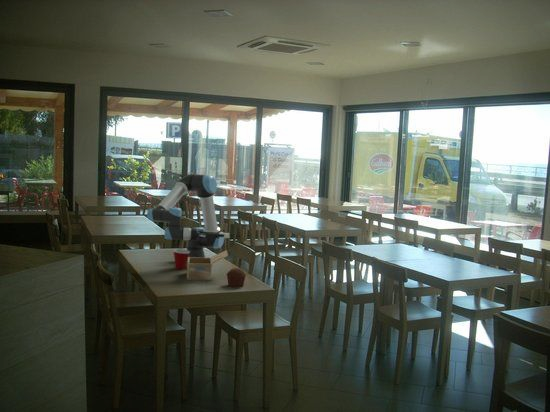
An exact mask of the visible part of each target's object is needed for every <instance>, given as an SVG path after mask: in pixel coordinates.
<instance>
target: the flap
mask: <svg viewBox="0 0 550 412" xmlns="http://www.w3.org/2000/svg"><path fill="white" fill-rule="evenodd" d="M228 256H229V254H228V250H224V251H222V252H219V253H218V254H215V255H213V256H211V257H210V258H211V261H212V265H213V264H214V263H216V262H219V261H220V260H223V259H225V258H227V257H228Z"/></svg>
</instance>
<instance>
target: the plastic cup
mask: <svg viewBox="0 0 550 412" xmlns="http://www.w3.org/2000/svg"><path fill="white" fill-rule="evenodd" d="M189 253H190V251H188V250H187V249H182V248H175V249H173V256H174V264H175V269H176V270H184V269H185V268H186V265H187V258H188V254H189Z"/></svg>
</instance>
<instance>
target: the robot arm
mask: <svg viewBox="0 0 550 412" xmlns="http://www.w3.org/2000/svg"><path fill="white" fill-rule="evenodd" d="M217 187H218V183H217V179H216V178H215V177H214V176H212V175H208V174H195V173H190V174H187V175H185V176H183V177H181V178H180V179H178V180H177V181H176V183H175V184H174V187H173V188H172V189H171V191H170V192H168V193H167V195H166V196H165V197H164V198H163V199H162V200H161V201H160V202H159V204H158V205H157V206H155V208H153V207H152V208H149V209H147V212H146V217H147V220H148V221H151V222H157V223H158V222H159V223H168V225H167V226H166V227H165V228H164V238H165V239H166V240H171V241H185V242H186V250H188V251H190V253H189V254H188V257H201V258H206V256H205V251H204V248H210V249H220V248H221V247H222V246H223V245H224V242H225V239H230V232H223V231H221V227H219V226H218V221H217V216H216V215H217V214H216V208H215V202H214V195H215V193H216V192H217V190H218V189H217ZM189 192H193V193H196V197H197V198H199V202H200V206H201V213H202V217H203V224H204V227H202V226H201V227H199V226H198V227H192V228H190V227H182V208H180V207H174V206H175V205H176V204H177V203H178V202H179V201H180V199H181V198H182V197H183V196H184V195H187V194H188V193H189ZM187 262H188V258H187ZM187 262H186V263H187Z"/></svg>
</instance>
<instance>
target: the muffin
mask: <svg viewBox="0 0 550 412" xmlns="http://www.w3.org/2000/svg"><path fill="white" fill-rule="evenodd" d="M246 276H247V274H246V273H245V272H244V270H242V269H241V268H237V267H236V268H235V267H233V268H232V269H230V270H228V271H227V273H226V278H227V286H228V287H231V288H234V287H236V288H237V287H239V288H243V287H244V284H245V280H246Z"/></svg>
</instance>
